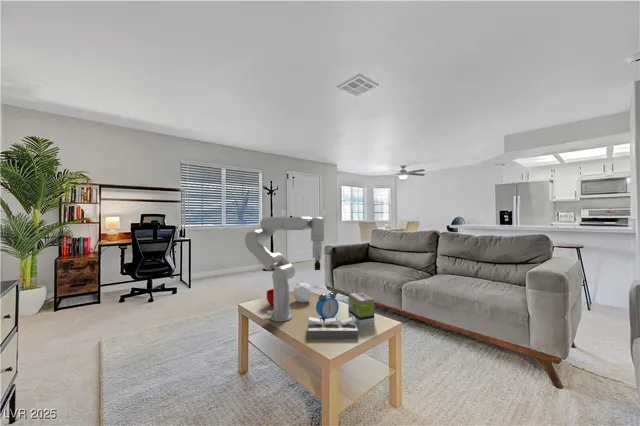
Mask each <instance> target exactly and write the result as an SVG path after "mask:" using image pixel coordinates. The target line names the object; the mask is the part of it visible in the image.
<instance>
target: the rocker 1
mask: <svg viewBox="0 0 640 426" xmlns="http://www.w3.org/2000/svg"><path fill="white" fill-rule="evenodd" d="M323 319H324V318H318V317H313V316H312V317H311V316H309V317H308V321H309V322H310V323H315V324H321V325H322V323H323V321H324V320H323Z"/></svg>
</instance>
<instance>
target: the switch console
mask: <svg viewBox="0 0 640 426" xmlns="http://www.w3.org/2000/svg"><path fill="white" fill-rule="evenodd" d="M306 332H307V337H306V338H307V340H309V339H310V340H313V339H314V340H315V339H316V340H330V339H331V340H333V339H334V340H349V339H350V340H351V339H352V340H359V329H358V326H357V323H356V322H352V323H349V324H346V325H342V321H341V320H339V323H332V324H326V325H325V320H323V323H322V325H321V324H315V323H310V322H309V320H308V321H307V331H306Z"/></svg>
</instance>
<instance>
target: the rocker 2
mask: <svg viewBox="0 0 640 426" xmlns="http://www.w3.org/2000/svg"><path fill="white" fill-rule="evenodd" d="M324 321H325V325H326V324H332V323H339V321H340V319H339V316H338V317H337V316H335V317H334V318H329V319H325V320H324Z"/></svg>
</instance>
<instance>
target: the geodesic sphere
mask: <svg viewBox="0 0 640 426" xmlns="http://www.w3.org/2000/svg"><path fill="white" fill-rule="evenodd" d="M292 295H293V298H294V300H296V302H298V303H301V304H304V303H307V302H309V301H310V300H311V297H312V296H313V289H312V287H311V286H310V284H308V283H306V282H303V281H301V282H299V283H296V284H295V286H294V287H293V291H292Z"/></svg>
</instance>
